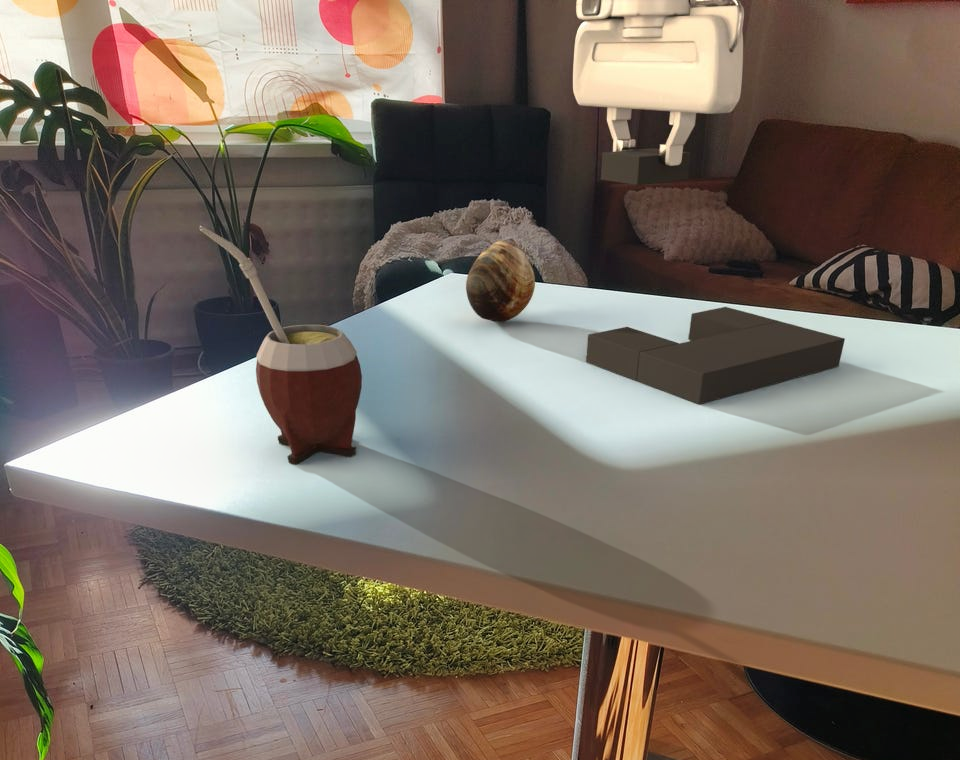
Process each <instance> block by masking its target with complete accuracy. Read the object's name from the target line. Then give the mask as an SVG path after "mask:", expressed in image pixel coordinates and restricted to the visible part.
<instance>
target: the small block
mask: <svg viewBox="0 0 960 760" xmlns="http://www.w3.org/2000/svg"><path fill="white" fill-rule="evenodd" d="M659 149H660V148H652V147H651V148H641V149H634V150H627V151H615V152H613V151H604V152H602V155H601V156H602V157H601V171H600V172H601V173H600V174H601V175H600V180H601V181H607V182H611V183H619V184H625V185H626V184H627V185H632V186H643V185H652V184H663V183H670V182H671V183H672V182H681V181H682V182H683V181H687V180H688V179H689V173H690V172H689V170H690V163H691V154H692V153H691V152H690V151H683V152H682V161H681V163H680V164H679V165H673V166H669V165H662V164H660V163H659V156H660V153H659Z"/></svg>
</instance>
